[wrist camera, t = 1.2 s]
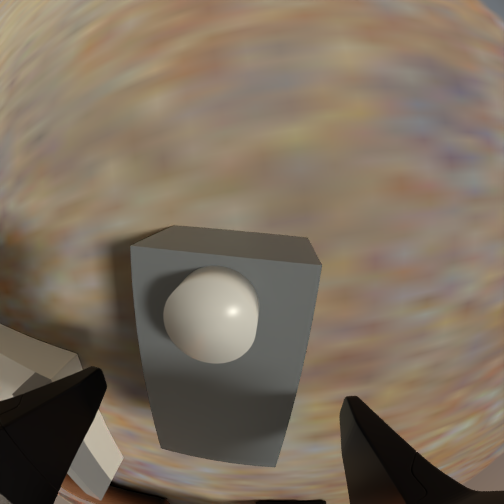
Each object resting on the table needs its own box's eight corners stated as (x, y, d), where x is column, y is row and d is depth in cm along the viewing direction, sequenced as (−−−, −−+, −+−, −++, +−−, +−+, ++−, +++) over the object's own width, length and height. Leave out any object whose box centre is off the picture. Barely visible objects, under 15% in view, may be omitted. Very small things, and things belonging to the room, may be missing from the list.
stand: (123, 457, 17) (101, 500, 11) (15, 403, 18) (-10, 428, 13) (77, 353, 14) (26, 404, 8) (-25, 310, 15) (-61, 332, 10)
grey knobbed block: (277, 411, 14) (274, 486, 9) (182, 398, 14) (153, 465, 9) (306, 236, 11) (329, 280, 6) (176, 224, 11) (108, 256, 6)
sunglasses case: (78, 483, 22) (51, 496, 16) (68, 447, 24) (38, 457, 18) (186, 519, 20) (168, 546, 14) (179, 482, 22) (157, 508, 16)
